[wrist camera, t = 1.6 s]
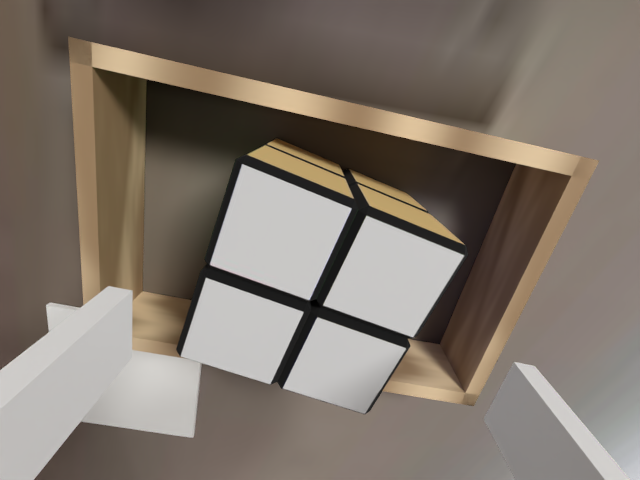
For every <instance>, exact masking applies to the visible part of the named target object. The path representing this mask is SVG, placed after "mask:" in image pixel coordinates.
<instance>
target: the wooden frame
mask: <svg viewBox="0 0 640 480" xmlns="http://www.w3.org/2000/svg"><path fill="white" fill-rule="evenodd" d="M68 39H69V57H70V74H71V92H72V110H73V128H74V145H75V163H76V181H77V198H78V216H79V234H80V251H81V269H82V287H83V304H84V305H85V304H86V303H87V302H89V301H90V300H91V299H92V298H94V297H95V296H96V295H98V294H99V293H100V292H101V291H103V290H104V289H105V288H107V287H108V286H111V287H117V288H122V289H127V290H133V295H132V350H136V351H142V352H148V353H154V354H160V355H166V356H173V357H179V358H183V357H180V356H179V354H178V352H177V350H176V348H177V345H178V342H179V339H180V335H181V332H182V329H183V326H184V323H185V320H186V316H187V313H188V310H189V307H190V304H191V301H192V300H188V299H183V298H177V297H171V296H166V295H160V294H155V293H149V292H143V242H144V189H145V137H146V84H147V79H148V80H153V81H157V82H161V83H166V84H170V85H174V86H179V87H183V88H188V89H192V90H196V91H201V92H205V93H210V94H214V95H218V96H223V97H227V98H232V99H236V100H240V101H245V102H249V103H254V104H258V105H262V106H267V107H271V108H275V109H280V110H284V111H289V112H293V113H297V114H302V115H306V116H311V117H315V118H319V119H324V120H328V121H333V122H337V123H341V124H346V125H350V126H354V127H359V128H363V129H368V130H372V131H376V132H381V133H385V134H390V135H394V136H398V137H403V138H407V139H412V140H416V141H420V142H425V143H429V144H433V145H438V146H442V147H447V148H451V149H455V150H460V151H464V152H469V153H473V154H477V155H482V156H486V157H491V158H495V159H499V160H504V161H508V162H512V163H516V165H515V168H514V170H513V172H512V175H511V177H510V180H509V182H508V184H507V187H506V189H505V191H504V194H503V196H502V198H501V201H500V203H499V206H498V208H497V210H496V213H495V215H494V217H493V220H492V222H491V224H490V227H489V229H488V232H487V234H486V236H485V239H484V241H483V243H482V246H481V248H480V250H479V253H478V255H477V258H476V260H475V262H474V265H473V267H472V269H471V272H470V274H469V276H468V279H467V281H466V284H465V286H464V288H463V291H462V293H461V295H460V298H459V300H458V302H457V305H456V307H455V310H454V312H453V314H452V317H451V319H450V321H449V324H448V326H447V328H446V331H445V333H444V336H443V338H442V340H441V343H440V344H435V343H429V342H423V341H418V340H412V339H408V340H409V343H410V348H409V350H408V351H407V353H406V354H405V356H404V357H403V359H402V361H401V362H400V364H399V365H398V367H397V369H396V370H395V372H394V373H393V375H392V377H391V378H390V380H389V381H388V383H387V384H386V386H385V388H384V389H383V391H385V392H391V393H397V394H403V395H409V396H415V397H422V398H428V399H434V400H440V401H446V402H452V403H458V404H464V405H470V406H474V405H475V403H476V401H477V399H478V397H479V395H480V393H481V391H482V389H483V387H484V385H485V383H486V381H487V379H488V377H489V375H490V373H491V371H492V369H493V367H494V365H495V363H496V362H497V360H498V358H499V356H500V354H501V352H502V350H503V348H504V346H505V344H506V342H507V340H508V338H509V336H510V334H511V332H512V330H513V328H514V326H515V324H516V322H517V320H518V318H519V317H520V315H521V313H522V311H523V309H524V307H525V305H526V303H527V301H528V299H529V297H530V295H531V293H532V291H533V289H534V287H535V285H536V283H537V281H538V279H539V277H540V275H541V274H542V272H543V270H544V268H545V266H546V264H547V262H548V260H549V258H550V256H551V254H552V252H553V250H554V248H555V246H556V244H557V242H558V240H559V238H560V236H561V234H562V232H563V231H564V229H565V227H566V225H567V223H568V221H569V219H570V217H571V215H572V213H573V211H574V209H575V207H576V205H577V203H578V201H579V199H580V197H581V195H582V193H583V191H584V189H585V188H586V186H587V184H588V182H589V180H590V178H591V176H592V174H593V172H594V170H595V168H596V166H597V164H598V162H599V161H598V160H594V159H590V158H585V157H581V156H577V155H572V154H568V153H564V152H560V151H555V150H551V149H547V148H542V147H538V146H534V145H530V144H525V143H521V142H517V141H512V140H508V139H504V138H500V137H495V136H491V135H487V134H482V133H478V132H474V131H470V130H465V129H461V128H457V127H452V126H448V125H444V124H440V123H435V122H431V121H427V120H422V119H418V118H414V117H410V116H405V115H401V114H397V113H392V112H388V111H384V110H380V109H375V108H371V107H367V106H362V105H358V104H354V103H350V102H345V101H341V100H337V99H332V98H328V97H324V96H320V95H315V94H311V93H307V92H302V91H298V90H294V89H290V88H285V87H281V86H277V85H272V84H268V83H264V82H260V81H255V80H251V79H247V78H242V77H238V76H234V75H230V74H225V73H221V72H217V71H212V70H208V69H204V68H200V67H195V66H191V65H187V64H182V63H178V62H174V61H170V60H165V59H161V58H157V57H152V56H148V55H144V54H140V53H135V52H131V51H127V50H122V49H118V48H114V47H110V46H105V45H101V44H97V43H92V42H88V41H84V40H80V39H75V38H71V37H68ZM185 359H186V358H185Z"/></svg>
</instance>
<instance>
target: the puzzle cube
mask: <svg viewBox="0 0 640 480" xmlns="http://www.w3.org/2000/svg"><path fill="white" fill-rule="evenodd" d="M467 256H468V252H467V248H466V245H465V244H464V243H463V242H461V241H460V240H459V239H458V238H457V237H456V236H455V235H453V234H452V233H451V232H450V231H449V230H448V229H447V228H446V227H444V226H443V225H442V224H441V223H440V222H439V221H438V220H437V219H435V218H434V217H433V216H432V215H430V214H428V211H427V210H426V209H425V208H423V207H422V206H421V205H420V204H419V203H418V202H417V201H415V200H414V199H413V198H412V197H411V196H410V195H409V194H407V193H405V192H403V191H401V190H398V189H396V188H393V187H391V186H389V185H386V184H384V183H382V182H379V181H377V180H374V179H372V178H370V177H367V176H365V175H363V174H360V173H358V172H355V171H353V170H351V169H347V170H344V171H342V169H341V167H340V165H339V164H337V163H334V162H332V161H329V160H327V159H325V158H322V157H320V156H318V155H315V154H313V153H311V152H308V151H306V150H303V149H301V148H299V147H296V146H294V145H292V144H289V143H287V142H284V141H282V140H280V139H277V138H276V139H274V140H272V141H270V142H268V143H266V144H264V145H262V146H261V147H259V148H258V149H255V150H254V151H252V152H250V153H248V154H246V155H244V156H242V157H240V158H238V159H236V160H235V164H234V167H233V170H232V173H231V176H230V179H229V183H228V186H227V189H226V192H225V195H224V198H223V202H222V205H221V208H220V211H219V214H218V218H217V221H216V224H215V227H214V230H213V233H212V237H211V240H210V243H209V246H208V249H207V253H206V256H205V261H206V263H207V264H206V265H205V267H204V268H203V269H202V270H201V272H200V275H199V278H198V281H197V285H196V288H195V291H194V294H193V297H192V301H191V304H190V307H189V310H188V313H187V316H186V320H185V323H184V326H183V329H182V332H181V335H180V339H179V342H178V345H177V348H176V350H177V352H178V354H179V356H180V357H183V358H186V359H190V360H193V361H196V362H199V363H202V364H206V365H209V366H212V367H215V368H218V369H222V370H225V371H228V372H231V373H234V374H238V375H241V376H244V377H247V378H251V379H254V380H257V381H260V382H263V383H267V384H270V385H271V384H273V383H275V382H278V384H279V386H280V387H281V388H282V389H285V390H288V391H291V392H295V393H298V394H301V395H304V396H307V397H311V398H314V399H317V400H320V401H323V402H327V403H330V404H333V405H336V406H340V407H343V408H346V409H349V410H352V411H356V412H359V413H362V414H366V413H368V412H369V411H370V410H371V408H372V407H373V405H374V403H375V402H376V400H377V399H378V397H379V396H380V394H381V392H382V391H383V389H384V388H385V386H386V384H387V383H388V381H389V380H390V378H391V377H392V375H393V373H394V372H395V370H396V369H397V367H398V365H399V364H400V362H401V361H402V359H403V357H404V356H405V354H406V353H407V351H408V350H409V348H410V343H409V340H408V339H409V338H414V337H416V336H417V335H418V334H419V332H420V331H421V329H422V327H423V326H424V324H425V323H426V321H427V319H428V318H429V316H430V315H431V313H432V311H433V310H434V308H435V307H436V305H437V304H438V302H439V300H440V299H441V297H442V296H443V294H444V292H445V291H446V289H447V288H448V286H449V285H450V283H451V281H452V280H453V278H454V277H455V275H456V273H457V272H458V270H459V269H460V267H461V265H462V264H463V262H464V261H465V259H466V258H467Z"/></svg>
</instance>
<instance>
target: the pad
mask: <svg viewBox="0 0 640 480" xmlns="http://www.w3.org/2000/svg"><path fill="white" fill-rule="evenodd" d="M46 309H47V318H48V328H49V332H50V331H51V330H53V329H54V328H55V327H56V326H58V325H59V324H60V323H62V322H63V321H64V320H65V319H67V318H68V317H69V316H71V315H72V314H73V313H74V312H76V311H77V310H78V309H80V308H79V307H73V306H68V305H62V304H56V303H49V304H47V305H46ZM201 366H202V363H199V362H196V361H193V360H190V359H185V358H179V357H173V356H166V355H160V354H154V353H148V352H142V351H136V350H132V358H131V359H130V361H129V362H128V363H127V364H126V366H125V367H124V368H123V369H122V371H121V372H120V373H119V374H118V376H117V377H116V378H115V379H114V381H113V382H112V383H111V384H110V386H109V387H108V388H107V389H106V391H105V392H104V393H103V394H102V395H101V397H100V398H99V399H98V400H97V402H96V403H95V404H94V405H93V407H92V408H91V409H90V410H89V412H88V413H87V414H86V415H85V417H84V418H83V419H82V420H81V422H88V423H95V424H101V425H108V426H115V427H122V428H129V429H135V430H142V431H149V432H156V433H163V434H170V435H176V436H183V437H190V438H193V437H194V434H195V424H196V415H197V405H198V395H199V386H200V376H201Z"/></svg>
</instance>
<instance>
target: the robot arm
mask: <svg viewBox="0 0 640 480" xmlns="http://www.w3.org/2000/svg"><path fill="white" fill-rule="evenodd" d="M132 295H133V290H127V289H122V288H117V287H111V286H108V287H107V288H105V289H104V290H103V291H101V292H100V293H99V294H98V295H96V296H95V297H94V298H92V299H91V300H90V301H89V302H87V303H86V304H85V305H83V306H82V307H81V308H80V309H78V310H77V311H76V312H74V313H73V314H72V315H71V316H69V317H68V318H67V319H65V320H64V321H63V322H62V323H60V324H59V325H58V326H56V327H55V328H54V329H53V330H51V331H50V332H49V333H47V334H46V335H45V336H44V337H42V338H41V339H40V340H38V341H37V342H36V343H35V344H33V345H32V346H31V347H29V348H28V349H27V350H26V351H24V352H23V353H22V354H20V355H19V356H18V357H17V358H15V359H14V360H13V361H11V362H10V363H9V364H8V365H6V366H5V367H4V368H2V369H1V370H0V480H34V479H35V478H36V476H37V475H38V474H39V473H40V471H41V470H42V469H43V468H44V466H45V465H46V464H47V463H48V461H49V460H50V459H51V458H52V456H53V455H54V454H55V453H56V451H57V450H58V449H59V448H60V447H61V445H62V444H63V443H64V442H65V440H66V439H67V438H68V437H69V435H70V434H71V433H72V432H73V430H74V429H75V428H76V427H77V425H78V424H79V423H80V422H81V420H82V419H83V418H84V417H85V415H86V414H87V413H88V412H89V410H90V409H91V408H92V407H93V405H94V404H95V403H96V402H97V400H98V399H99V398H100V397H101V395H102V394H103V393H104V392H105V391H106V389H107V388H108V387H109V386H110V384H111V383H112V382H113V381H114V379H115V378H116V377H117V376H118V374H119V373H120V372H121V371H122V369H123V368H124V367H125V366H126V364H127V363H128V362H129V361H130V359H131V358H132ZM484 421H485V423H486V425H487V427H488V429H489V430H490V432H491V434H492V436H493V438H494V440H495V442H496V444H497V446H498V448H499V449H500V451H501V453H502V455H503V457H504V459H505V461H506V463H507V465H508V467H509V468H510V470H511V472H512V474H513V476H514V478H515V480H630V478H629V477H628V476H627V475H626V474H625V473H624V471H623V470H622V469H621V468H620V467H619V465H618V464H617V463H616V462H615V461H614V459H613V458H612V457H611V456H610V455H609V454H608V452H607V451H606V450H605V449H604V448H603V446H602V445H601V444H600V443H599V442H598V441H597V439H596V438H595V437H594V436H593V435H592V433H591V432H590V431H589V430H588V429H587V428H586V426H585V425H584V424H583V423H582V422H581V420H580V419H579V418H578V417H577V416H576V415H575V413H574V412H573V411H572V410H571V409H570V407H569V406H568V405H567V404H566V403H565V401H564V400H563V399H562V398H561V397H560V396H559V394H558V393H557V392H556V391H555V390H554V388H553V387H552V386H551V385H550V384H549V383H548V381H547V380H546V379H545V378H544V377H543V375H542V374H541V373H540V372H539V371H538V370H537V368H536V367H535V366H532V365H527V364H521V363H516V362H514V363H513V365H512V367H511V368H510V370H509V372H508V374H507V376H506V378H505V380H504V382H503V383H502V385H501V387H500V389H499V391H498V393H497V395H496V397H495V398H494V400H493V402H492V404H491V406H490V408H489V410H488V412H487V413H486V415H485V417H484Z"/></svg>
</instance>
